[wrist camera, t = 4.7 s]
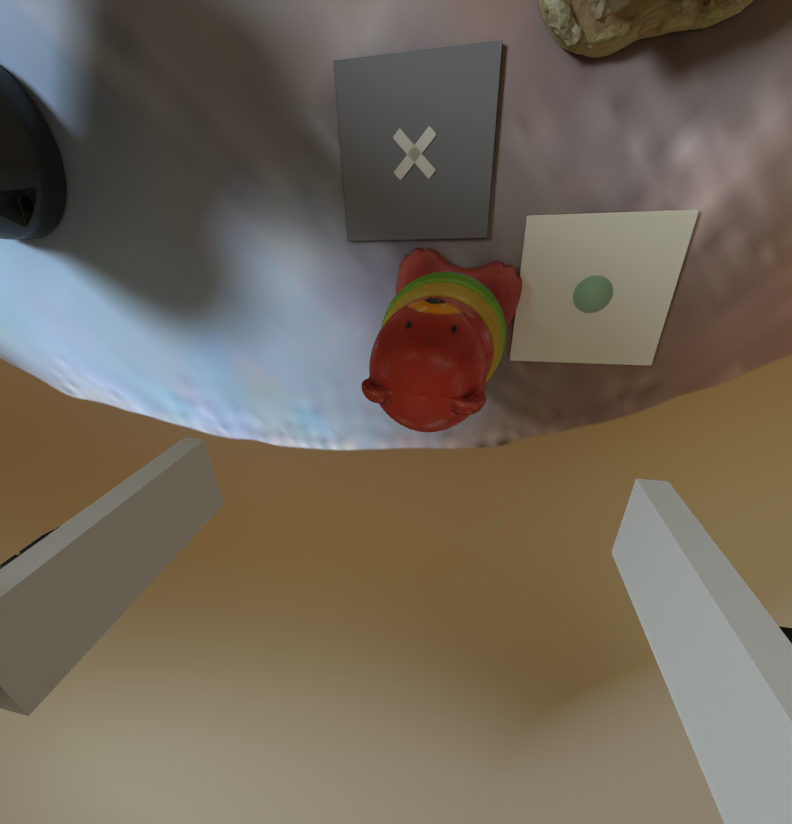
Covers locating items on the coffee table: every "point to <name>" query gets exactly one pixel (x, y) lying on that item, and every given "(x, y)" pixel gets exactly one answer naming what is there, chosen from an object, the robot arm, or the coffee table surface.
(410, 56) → the pad
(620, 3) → the beige lumpy chunk
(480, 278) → the stacking bear
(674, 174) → the coffee table surface
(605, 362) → the pad
